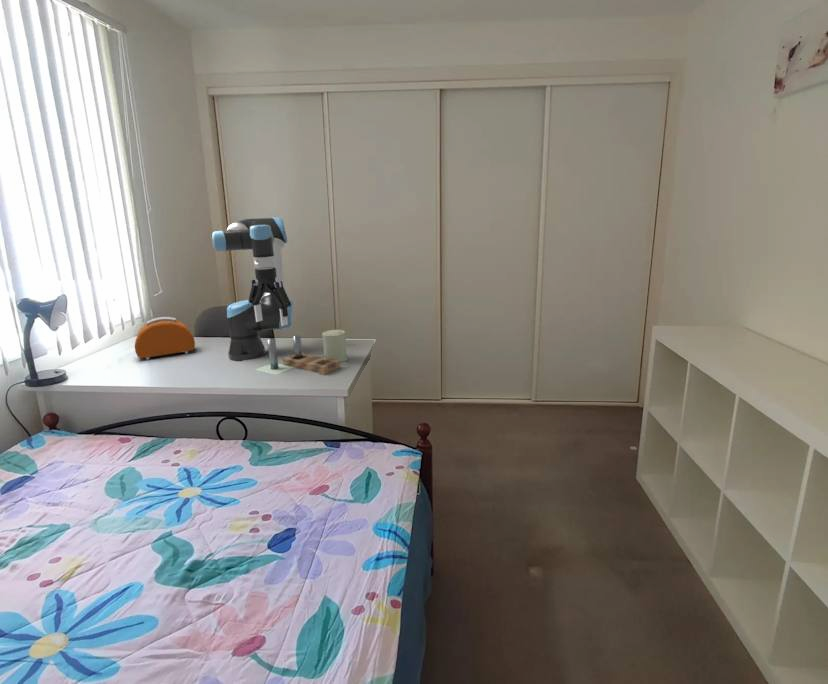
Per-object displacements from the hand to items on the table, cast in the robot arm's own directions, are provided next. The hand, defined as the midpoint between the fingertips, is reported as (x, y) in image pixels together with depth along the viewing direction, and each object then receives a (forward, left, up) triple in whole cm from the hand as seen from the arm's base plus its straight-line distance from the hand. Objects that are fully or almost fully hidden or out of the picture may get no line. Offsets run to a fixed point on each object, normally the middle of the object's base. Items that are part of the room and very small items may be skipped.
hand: (271, 323), depth 199 cm
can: (+13, +19, -19) cm, 30 cm away
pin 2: (+4, +8, -19) cm, 21 cm away
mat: (0, -1, -19) cm, 19 cm away
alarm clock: (-59, -10, -19) cm, 63 cm away
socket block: (+11, +8, -19) cm, 23 cm away
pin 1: (0, -1, -18) cm, 18 cm away
